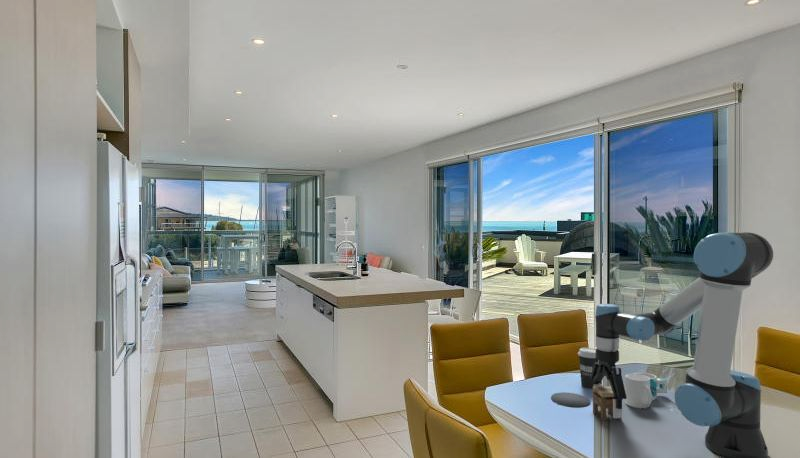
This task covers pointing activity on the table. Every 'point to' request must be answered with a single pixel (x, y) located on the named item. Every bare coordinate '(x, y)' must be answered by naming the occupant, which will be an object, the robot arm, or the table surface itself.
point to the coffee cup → (586, 365)
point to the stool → (603, 401)
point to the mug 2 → (655, 384)
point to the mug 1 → (637, 391)
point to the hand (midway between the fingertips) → (607, 409)
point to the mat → (570, 399)
